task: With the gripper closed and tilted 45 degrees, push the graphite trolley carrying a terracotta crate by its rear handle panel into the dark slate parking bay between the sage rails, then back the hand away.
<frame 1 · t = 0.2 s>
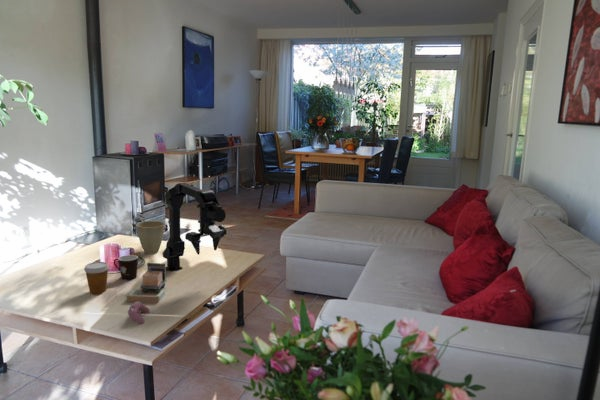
hand: (206, 252, 197), 15 cm above the table, tool pointing down, fingers open, 9 cm apart
plant pot: (151, 252, 244), on the table
coffee mug: (127, 278, 204), on the table
disposable coffee cup: (98, 292, 187), on the table
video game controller: (139, 318, 164), on the table
dock bay: (146, 298, 181), on the table
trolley: (153, 277, 189), point 6 cm above the table, slide at 0.0 cm
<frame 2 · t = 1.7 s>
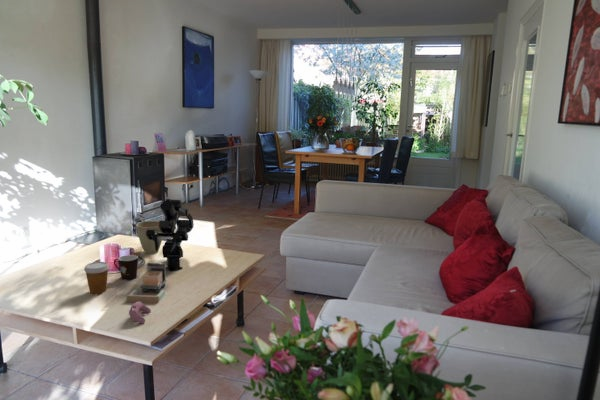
hand: (163, 251, 201), 14 cm above the table, tool tilted 45°, fingers open, 6 cm apart
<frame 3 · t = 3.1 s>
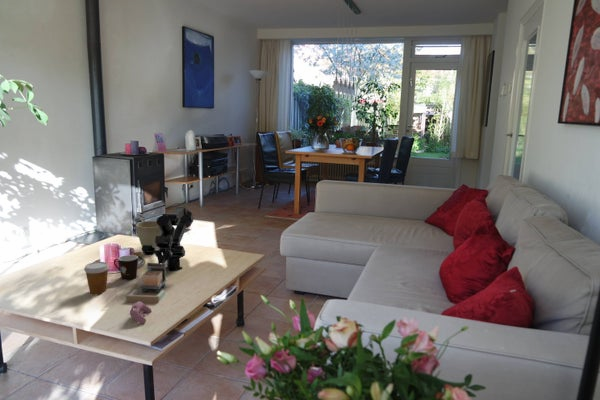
hand: (159, 267, 197), 8 cm above the table, tool tilted 45°, fingers closed
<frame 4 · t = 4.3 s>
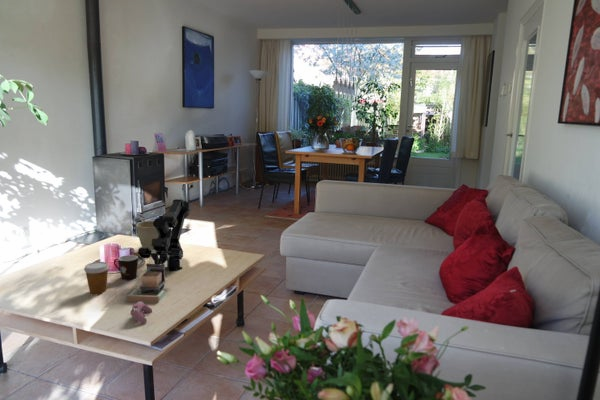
hand: (156, 270, 192), 8 cm above the table, tool tilted 45°, fingers closed, pressing on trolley
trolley: (152, 278, 188), point 6 cm above the table, slide at 1.0 cm, touching gripper
everything else where it was.
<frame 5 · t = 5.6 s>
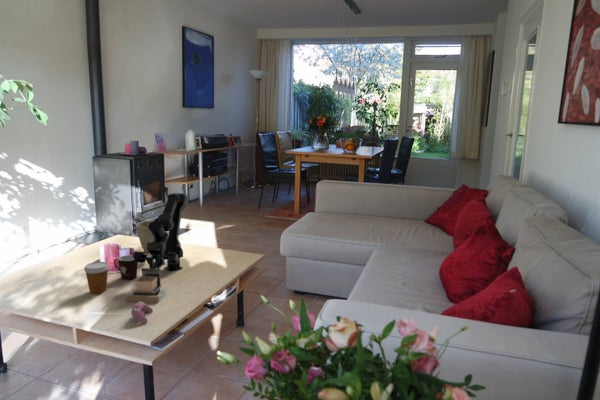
hand: (151, 275, 186), 8 cm above the table, tool tilted 45°, fingers closed, pressing on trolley
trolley: (148, 283, 182), point 6 cm above the table, slide at 6.7 cm, touching gripper
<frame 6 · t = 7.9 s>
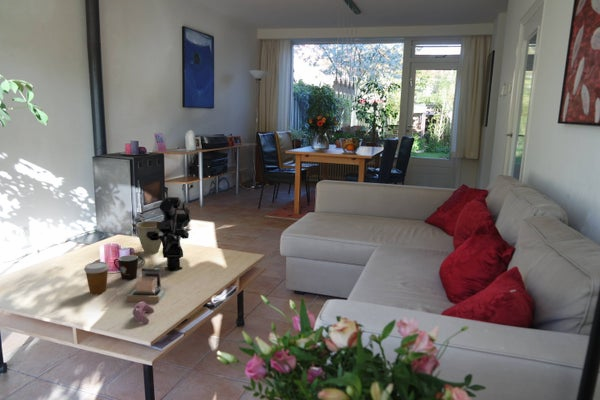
hand: (165, 251, 201), 13 cm above the table, tool tilted 40°, fingers closed
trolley: (147, 283, 182), point 6 cm above the table, slide at 6.8 cm
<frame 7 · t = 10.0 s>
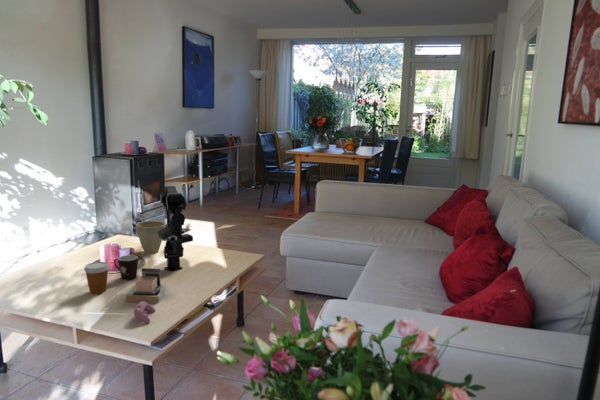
hand: (176, 253, 203), 12 cm above the table, tool pointing down, fingers closed
at the end: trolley slide at 6.8 cm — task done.
